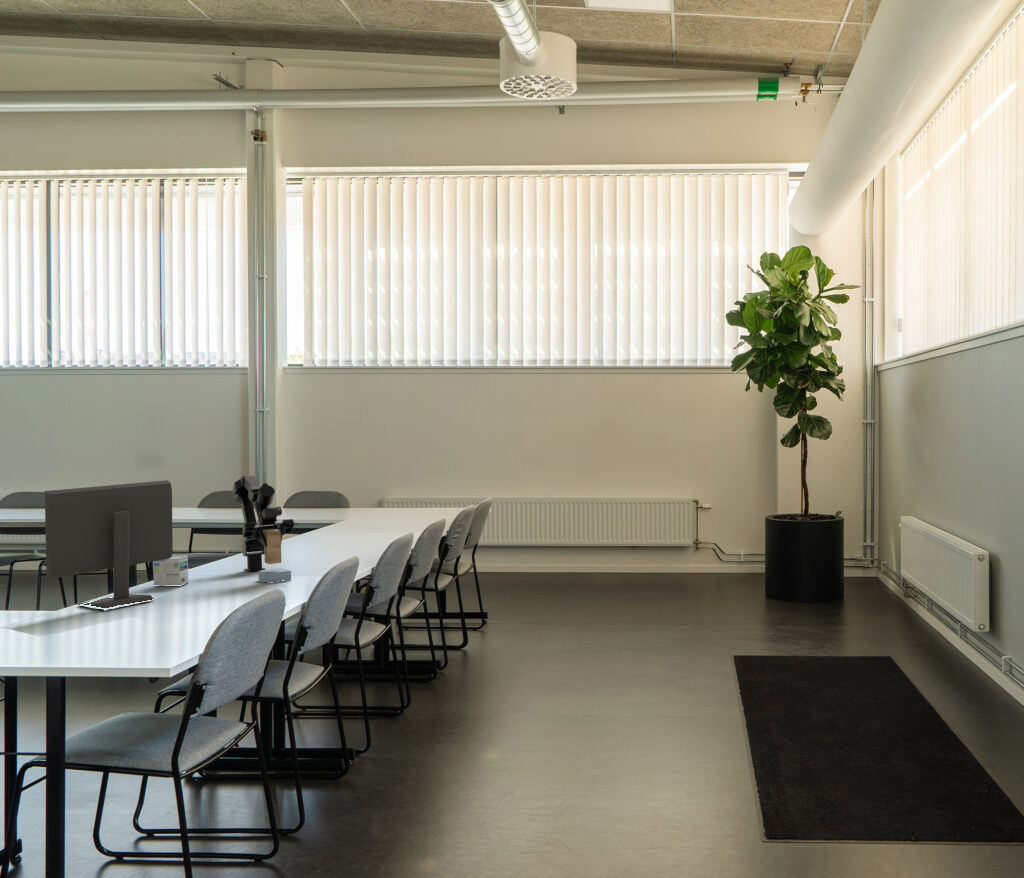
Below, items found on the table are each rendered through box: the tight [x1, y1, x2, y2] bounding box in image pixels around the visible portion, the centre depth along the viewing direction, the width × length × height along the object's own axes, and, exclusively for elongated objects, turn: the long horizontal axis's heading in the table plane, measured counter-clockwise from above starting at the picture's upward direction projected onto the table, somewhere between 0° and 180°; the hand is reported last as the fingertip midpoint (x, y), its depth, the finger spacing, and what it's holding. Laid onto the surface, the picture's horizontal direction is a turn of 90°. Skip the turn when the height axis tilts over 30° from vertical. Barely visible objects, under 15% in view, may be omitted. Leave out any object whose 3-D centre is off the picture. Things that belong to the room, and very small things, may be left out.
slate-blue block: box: [257, 567, 292, 584], centre depth 339 cm, size 9×9×4 cm
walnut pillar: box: [263, 529, 282, 565], centre depth 338 cm, size 5×5×12 cm
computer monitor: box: [44, 479, 174, 608], centre depth 302 cm, size 44×16×40 cm, turn 145°
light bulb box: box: [152, 555, 190, 586], centre depth 334 cm, size 11×7×11 cm, turn 84°
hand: (273, 545), depth 337 cm, fingers closed on walnut pillar, 5 cm apart
